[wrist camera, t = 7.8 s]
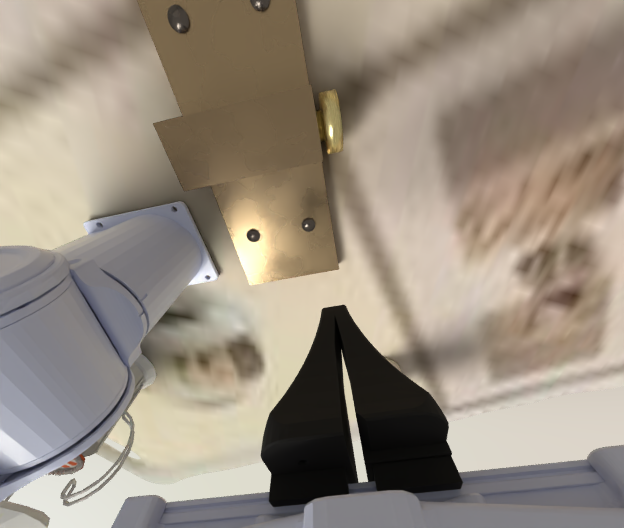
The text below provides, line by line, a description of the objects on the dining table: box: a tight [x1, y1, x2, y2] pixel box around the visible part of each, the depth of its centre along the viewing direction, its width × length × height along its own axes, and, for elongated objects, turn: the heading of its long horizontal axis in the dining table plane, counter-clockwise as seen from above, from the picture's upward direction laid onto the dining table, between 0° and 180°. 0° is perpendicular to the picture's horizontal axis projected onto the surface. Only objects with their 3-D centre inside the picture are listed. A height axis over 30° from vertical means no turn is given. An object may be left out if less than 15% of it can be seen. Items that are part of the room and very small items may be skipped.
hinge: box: [137, 0, 339, 285], centre depth 16 cm, size 10×24×4 cm, turn 11°
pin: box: [316, 89, 343, 154], centre depth 16 cm, size 10×4×4 cm, turn 101°
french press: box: [0, 354, 156, 528], centre depth 19 cm, size 10×12×25 cm
